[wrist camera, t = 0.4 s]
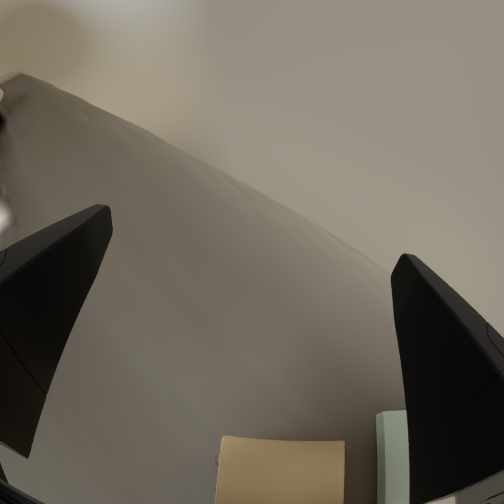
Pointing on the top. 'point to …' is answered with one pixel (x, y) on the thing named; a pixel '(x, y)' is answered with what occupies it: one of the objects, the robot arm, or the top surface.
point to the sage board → (394, 459)
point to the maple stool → (280, 471)
